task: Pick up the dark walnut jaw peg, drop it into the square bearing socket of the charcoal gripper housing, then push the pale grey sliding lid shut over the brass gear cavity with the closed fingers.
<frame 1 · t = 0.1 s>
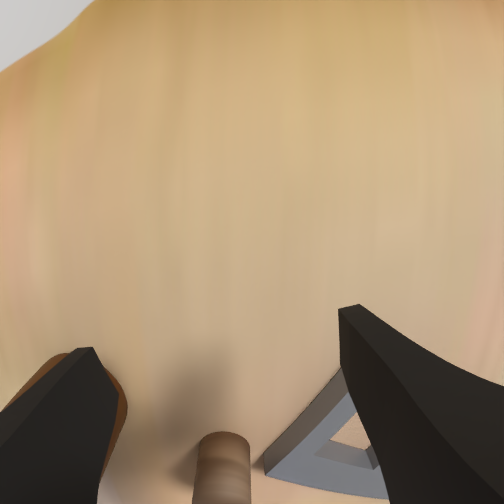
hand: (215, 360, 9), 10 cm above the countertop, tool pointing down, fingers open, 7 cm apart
housing: (402, 430, 23), on the countertop
jaw peg: (224, 447, 22), on the countertop
mug: (69, 394, 21), on the countertop
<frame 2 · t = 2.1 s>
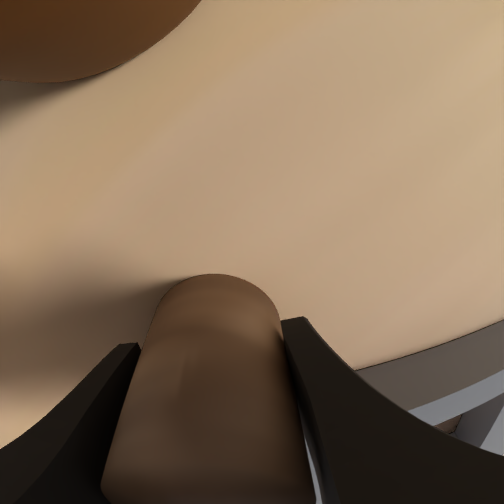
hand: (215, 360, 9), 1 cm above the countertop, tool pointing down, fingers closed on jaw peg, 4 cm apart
housing: (402, 464, 15), on the countertop
jaw peg: (216, 331, 10), on the countertop, touching gripper
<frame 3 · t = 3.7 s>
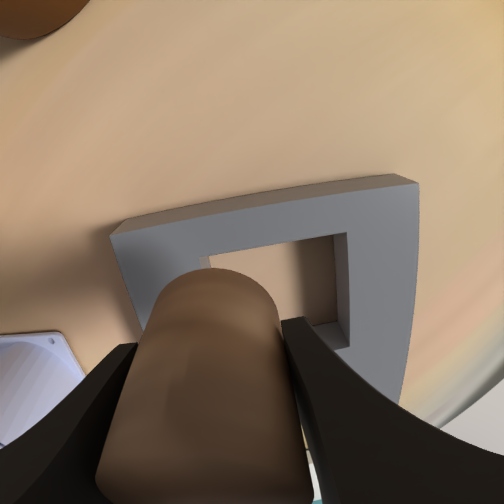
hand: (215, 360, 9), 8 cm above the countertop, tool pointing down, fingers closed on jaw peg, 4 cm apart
lid: (306, 487, 20), point 4 cm above the countertop, slide at -8.0 cm
housing: (287, 353, 19), on the countertop
jaw peg: (215, 325, 10), point 7 cm above the countertop, touching gripper
when the fingers open (3 cm above the countertop, at t = 5.3 s): jaw peg drops 2 cm, resting in housing.
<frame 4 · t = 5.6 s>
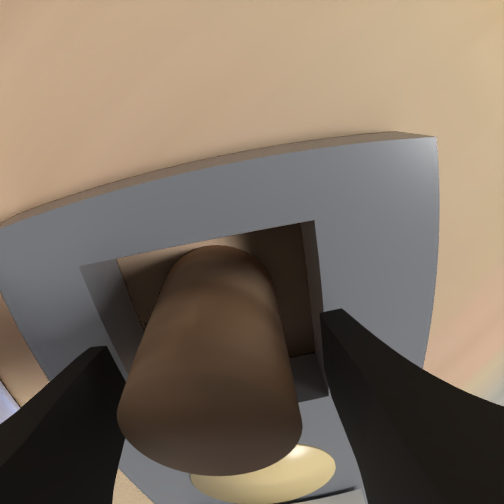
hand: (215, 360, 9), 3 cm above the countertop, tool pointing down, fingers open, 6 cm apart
housing: (245, 394, 14), on the countertop
jaw peg: (218, 297, 12), resting in housing
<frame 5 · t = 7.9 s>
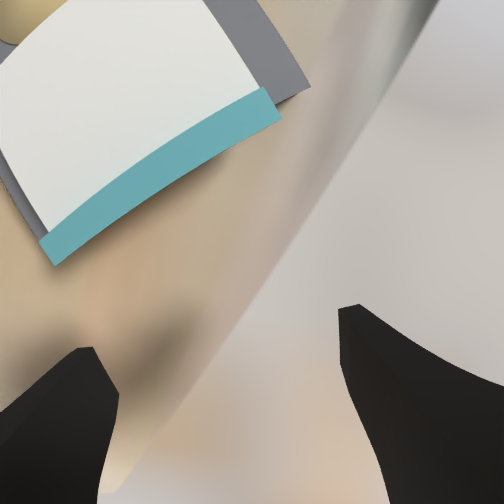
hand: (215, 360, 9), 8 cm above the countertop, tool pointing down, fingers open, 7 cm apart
lid: (95, 92, 10), point 4 cm above the countertop, slide at -8.0 cm
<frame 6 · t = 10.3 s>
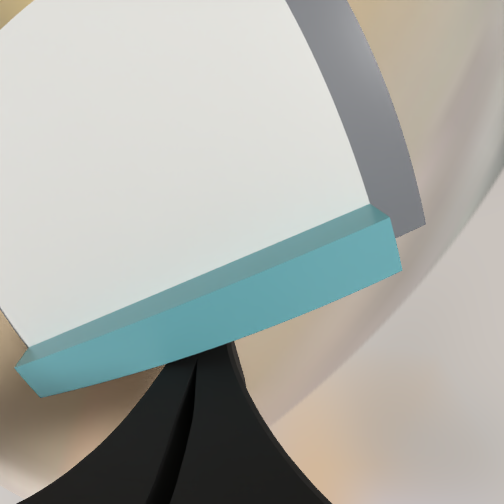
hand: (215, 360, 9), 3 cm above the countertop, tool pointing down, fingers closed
lid: (88, 161, 6), point 4 cm above the countertop, slide at -6.8 cm, touching gripper
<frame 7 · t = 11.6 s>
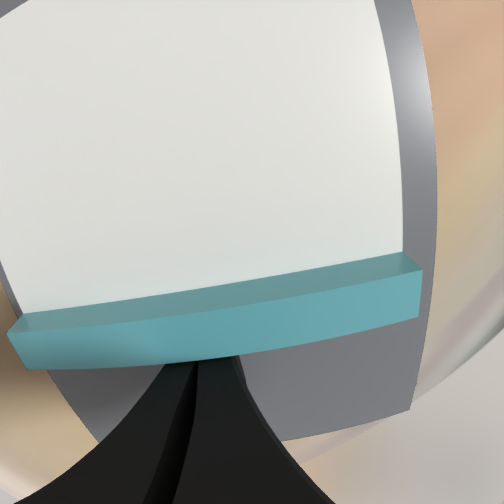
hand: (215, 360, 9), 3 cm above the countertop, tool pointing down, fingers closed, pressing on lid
lid: (150, 140, 6), point 4 cm above the countertop, slide at -0.1 cm, touching gripper
housing: (161, 17, 8), on the countertop
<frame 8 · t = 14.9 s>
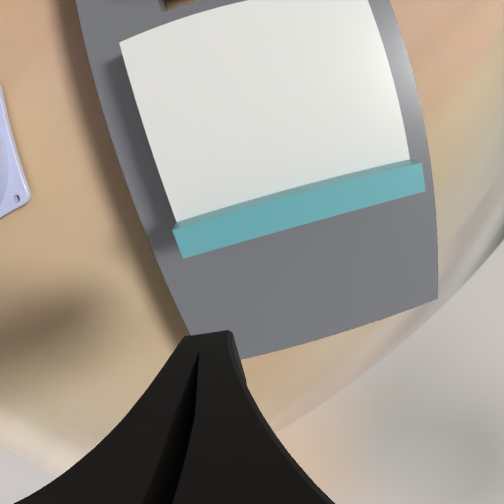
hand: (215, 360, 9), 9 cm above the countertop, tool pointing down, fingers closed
lid: (276, 104, 11), point 4 cm above the countertop, slide at 0.0 cm
housing: (244, 37, 13), on the countertop
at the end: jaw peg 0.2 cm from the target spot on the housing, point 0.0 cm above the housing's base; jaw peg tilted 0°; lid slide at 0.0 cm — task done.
